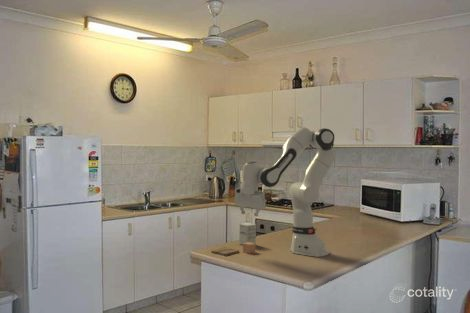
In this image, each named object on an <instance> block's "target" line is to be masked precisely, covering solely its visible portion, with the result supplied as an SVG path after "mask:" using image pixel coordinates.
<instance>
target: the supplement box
mask: <svg viewBox="0 0 470 313" xmlns="http://www.w3.org/2000/svg"><path fill="white" fill-rule="evenodd" d="M238 234H239V235H238V236H239V237H238V238H239V239H238V240H239V242H238V243H239V245H242V246H243V243H246V242H251V243H257V240H256V238H257V236H256V234H257V224H256V223H250V222H243V223H239V233H238Z"/></svg>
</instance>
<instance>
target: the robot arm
mask: <svg viewBox="0 0 470 313" xmlns="http://www.w3.org/2000/svg"><path fill="white" fill-rule="evenodd" d="M334 142H335V134H334V132H333V131H332V130H331V129H329V128H318V129H316V130H313V131H311V130H310V129H309V128H307V127H300V128H299V129H297V130H296V131H295V132H293V133H292V134H291V135H290V136H289V137H288V138H287V139H286V140H285V142H284V143H283V145H282V147H281V148H282V155H281V156H280V158H278V160H277V161H276V163H274V164H273V165H272V166H271V167H265V166H263V165H261V164H259V163H258V162H257V161H249V162H246V163H244V164H243V166H242V184H241V186H240V187H238V188H236V189H235V190H234V192H235V194H234V200H233V201H234V205H235V206H237V207H238V206H239V209H240V213H241V215H246V210H245V209H244V208H252V209H255V212H254V213H253V216H254V217H258V216H259V214H260V211H261V210H263V209H265V208H266V204H267V203H266V194H265V192H263V191H259V184H260V185H261V184H262V185H264V186H265V187H267V188H272V187H275V186H276V185H278V183H279V182H280V178H281V177H282V176H283V173H284V172H285V171H286V170H287V168H288V167H289V166H291V163H292V162H294V160H295V159H296V158H297V157H298V156H299V155H300V154H302V153H303V152H304V150H305V149H306V148H307V147H308V146H309V147H311V148H313V149H316V153H315V155H314V156H313V159H312V160H311V162H310V163H309V164H308V166H307V168H306V170H305V175H304V179H303V181H297V182H294V183H292V184H291V185H290V186H289V188H288V194H289V196H290V199H291V205H292V211H293V212H292V213H293V217H292V218H293V220H292V222H293V223H292V224H293V225H292V238H291V245H290V248H289V251H290V252H291V253H292V254H294V255H295V254H296V255H301V256H302V255H303V256H308V257H309V256H310V257H316V258H320V257H325V256H328V255H329V254H330V253H331V252H330V250H328V249H326V243H325V241H324V240H323V239H322V238H321V237H320V236H319V235H318V234H316V231H317V228H315V227H314V226H313V221H314V220H313V218H314V213H313V210H312V208H311V204H313V203H316V202H317V201H318V199H319V197H320V189H321V186H322V183H323V181H324V179H325V178H326V175H327V174H328V172H329V171H330V169H331V168H332V165H333V163H334V161H335V158H336V155H337V154H336V152H335V150H334V149H333V148H334Z"/></svg>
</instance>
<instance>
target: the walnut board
mask: <svg viewBox="0 0 470 313" xmlns="http://www.w3.org/2000/svg"><path fill="white" fill-rule="evenodd" d="M211 253H212V254H216V255H220V256H225V257H228V256H230V255H235V254H238V253H240V250H239V249H234V248H229V247H226V246H225V247H220V248H217V249H213V250H212V249H211Z"/></svg>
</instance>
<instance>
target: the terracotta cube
mask: <svg viewBox="0 0 470 313" xmlns="http://www.w3.org/2000/svg"><path fill="white" fill-rule="evenodd" d="M256 243H257V242H256ZM256 243H251V242H246V243H243V245H242V253H245V254H249V255H250V254H253V253H256Z"/></svg>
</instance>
